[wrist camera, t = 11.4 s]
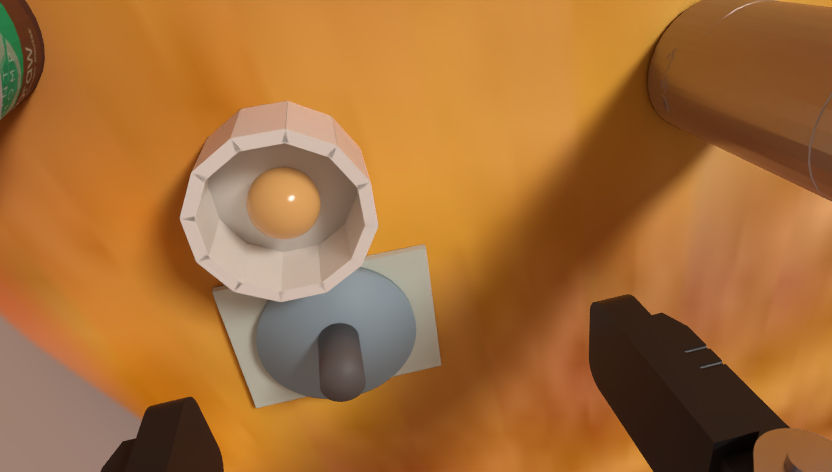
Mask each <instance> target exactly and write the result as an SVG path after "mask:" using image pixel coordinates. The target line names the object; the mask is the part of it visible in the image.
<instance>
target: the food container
mask: <svg viewBox="0 0 832 472" xmlns="http://www.w3.org/2000/svg"><path fill="white" fill-rule="evenodd" d="M44 60H45V55H44V43H43V38H42V34H41V30H40V28H39V25H38V23H37V20H36V18H35V16H34V14H33V12H32V11H31V9H30V7H29V5H28V4H27V2H26V1H25V0H0V120H1V119H2V118H4V117H5V116H6V115H7V114H8V113H9V112H11V111H12V110H13V109H14V108H15V107H17V106H18V105H19V104H20V103H21V102H22V101H23V100H24V99H25V98H26V97H27V96H28V95H29V94H30V93H31V92H32V91H33V90H34V89H35V88H36V86H37V84H38V81H39V79H40V77H41V74H42V72H43V67H44Z"/></svg>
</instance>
